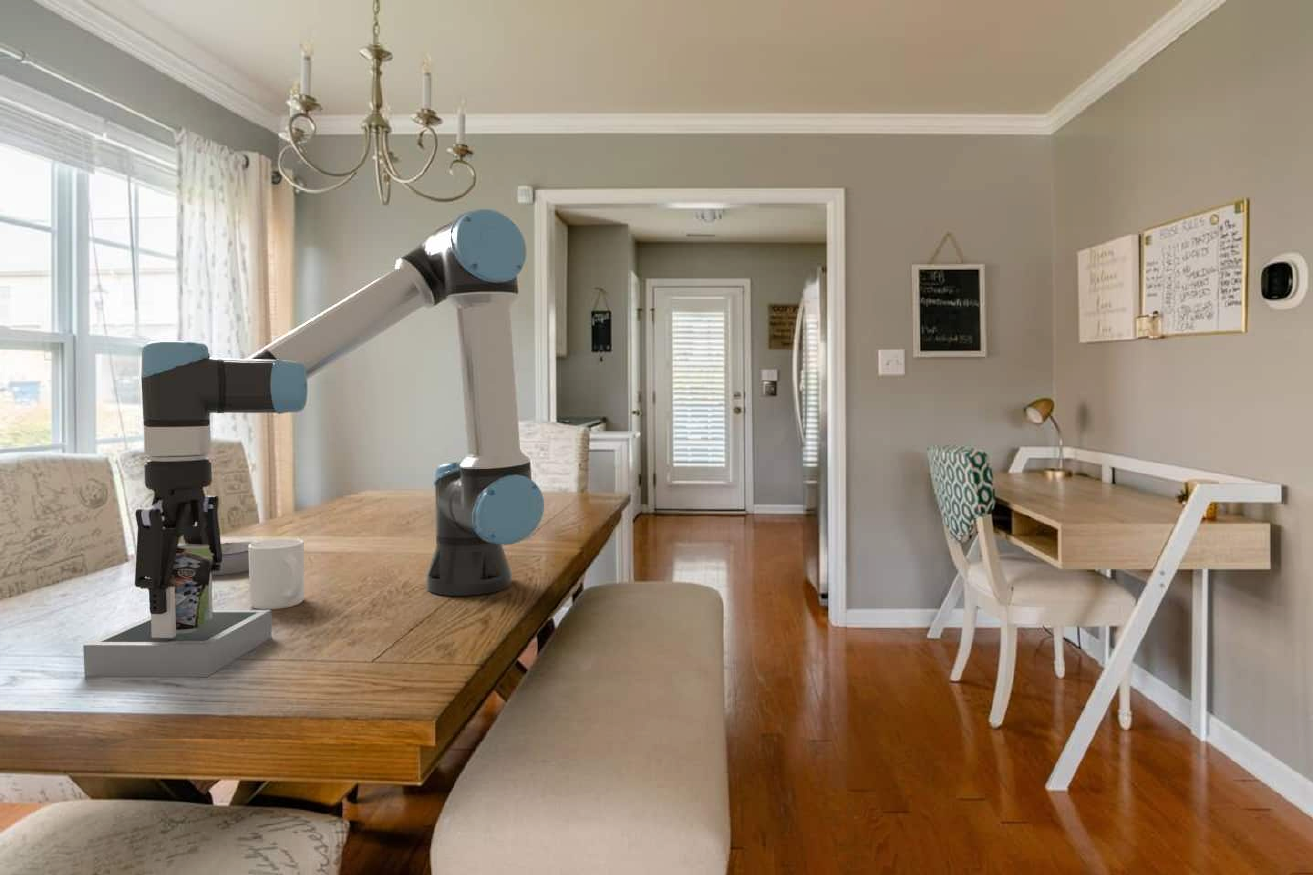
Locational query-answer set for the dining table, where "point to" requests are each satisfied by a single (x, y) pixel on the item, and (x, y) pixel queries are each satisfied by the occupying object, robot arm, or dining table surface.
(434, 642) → the dining table surface
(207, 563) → the beverage can
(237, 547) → the bowl
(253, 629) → the corral
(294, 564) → the mug
